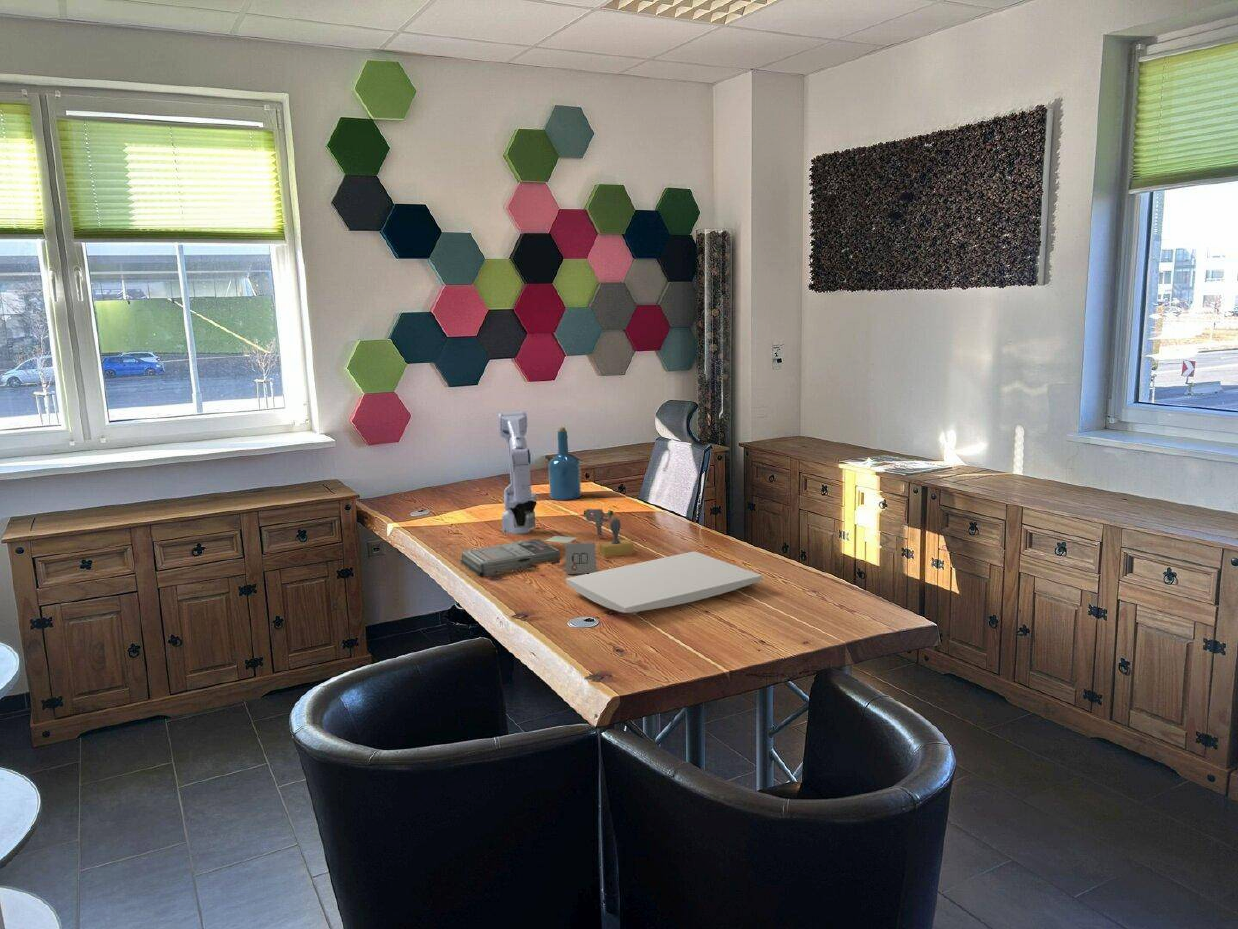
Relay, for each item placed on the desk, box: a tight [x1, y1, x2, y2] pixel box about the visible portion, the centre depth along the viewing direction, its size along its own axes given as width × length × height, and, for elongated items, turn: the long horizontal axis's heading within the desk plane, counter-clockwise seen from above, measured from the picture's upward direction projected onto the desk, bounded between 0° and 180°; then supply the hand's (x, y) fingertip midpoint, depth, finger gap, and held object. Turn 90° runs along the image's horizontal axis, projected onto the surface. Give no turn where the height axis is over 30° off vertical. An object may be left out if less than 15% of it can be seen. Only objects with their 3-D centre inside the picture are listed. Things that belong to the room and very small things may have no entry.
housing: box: [513, 511, 536, 530], centre depth 310 cm, size 6×4×5 cm, turn 63°
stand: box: [544, 535, 578, 544], centre depth 317 cm, size 9×7×2 cm
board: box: [565, 550, 763, 615], centre depth 260 cm, size 45×32×5 cm
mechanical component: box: [583, 508, 614, 536], centre depth 322 cm, size 3×10×10 cm, turn 79°
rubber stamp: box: [598, 517, 634, 558], centre depth 301 cm, size 10×6×12 cm, turn 109°
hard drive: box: [460, 538, 561, 578], centre depth 295 cm, size 18×27×4 cm
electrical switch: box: [564, 542, 597, 575], centre depth 282 cm, size 9×5×9 cm, turn 90°
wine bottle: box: [548, 426, 582, 501], centre depth 389 cm, size 14×13×30 cm
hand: (524, 524), depth 310 cm, fingers closed on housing, 4 cm apart
